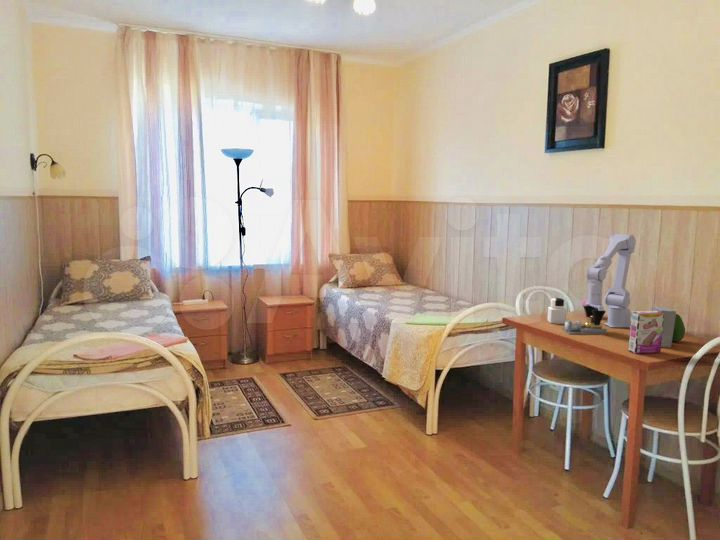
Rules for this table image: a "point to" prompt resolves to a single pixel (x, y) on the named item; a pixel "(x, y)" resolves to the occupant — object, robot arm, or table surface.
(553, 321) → the medicine bottle
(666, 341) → the skincare box
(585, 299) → the cupcake
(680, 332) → the avocado
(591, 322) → the valve
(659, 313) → the candy bar box
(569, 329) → the grey piece
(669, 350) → the table surface
